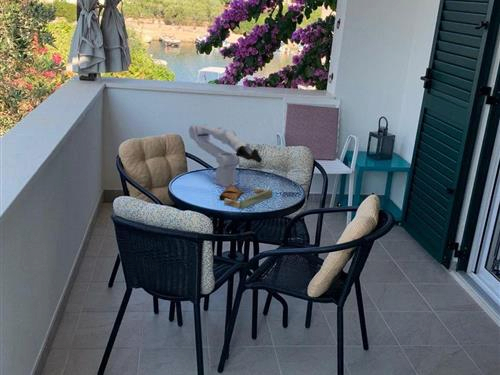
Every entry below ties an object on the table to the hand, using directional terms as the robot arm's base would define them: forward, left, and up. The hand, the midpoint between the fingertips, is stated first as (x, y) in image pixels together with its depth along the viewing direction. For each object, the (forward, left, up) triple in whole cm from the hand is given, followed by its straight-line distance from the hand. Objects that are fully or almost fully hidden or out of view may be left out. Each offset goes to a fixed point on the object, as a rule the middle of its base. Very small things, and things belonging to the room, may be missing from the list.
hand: (255, 159), depth 270 cm
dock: (+3, -8, -18) cm, 20 cm away
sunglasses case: (-6, -8, -18) cm, 21 cm away
